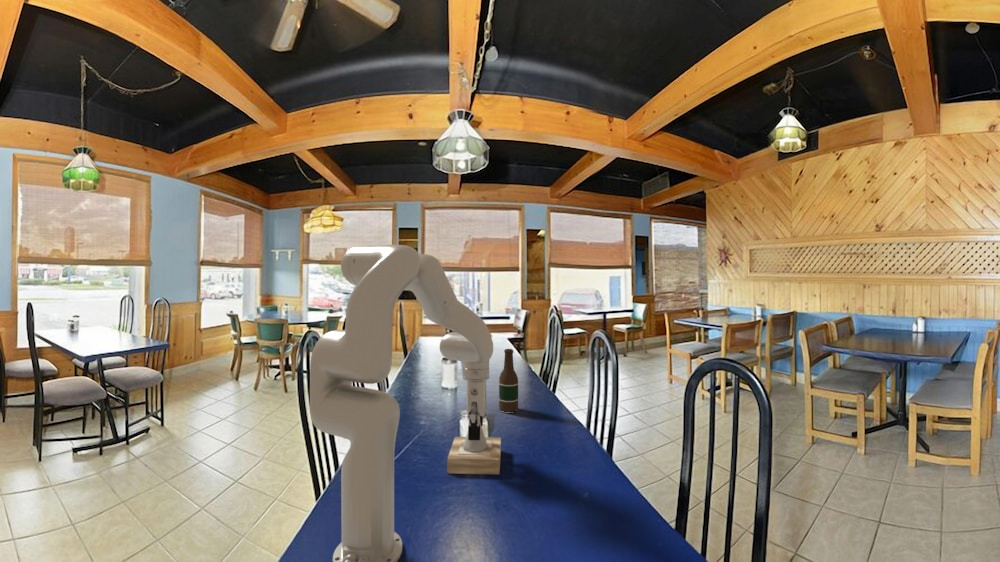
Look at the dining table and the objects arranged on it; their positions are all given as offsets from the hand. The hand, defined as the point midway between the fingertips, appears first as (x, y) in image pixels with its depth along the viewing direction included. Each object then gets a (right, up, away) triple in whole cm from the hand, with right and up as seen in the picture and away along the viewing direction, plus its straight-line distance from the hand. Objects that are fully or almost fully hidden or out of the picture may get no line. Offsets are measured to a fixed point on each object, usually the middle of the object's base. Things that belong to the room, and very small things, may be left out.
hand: (475, 432), depth 112 cm
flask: (0, -4, 0) cm, 4 cm away
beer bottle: (+10, -8, +42) cm, 44 cm away
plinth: (0, -8, 0) cm, 8 cm away
